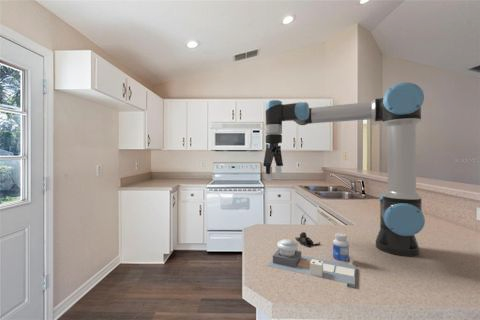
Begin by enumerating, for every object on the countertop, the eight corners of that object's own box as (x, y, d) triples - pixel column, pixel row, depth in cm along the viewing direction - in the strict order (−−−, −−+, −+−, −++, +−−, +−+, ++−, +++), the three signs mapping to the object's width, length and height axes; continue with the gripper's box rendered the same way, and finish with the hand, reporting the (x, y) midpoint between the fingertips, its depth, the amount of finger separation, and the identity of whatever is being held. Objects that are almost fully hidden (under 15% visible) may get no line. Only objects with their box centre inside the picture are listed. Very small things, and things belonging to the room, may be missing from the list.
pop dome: (299, 254, 86) (299, 240, 86) (294, 261, 80) (294, 246, 80) (280, 251, 89) (280, 237, 89) (274, 257, 83) (274, 242, 83)
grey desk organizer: (355, 268, 80) (355, 254, 80) (354, 288, 68) (354, 271, 68) (279, 254, 93) (279, 242, 93) (267, 268, 80) (267, 255, 80)
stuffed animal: (326, 245, 100) (307, 232, 96) (315, 266, 98) (296, 253, 94) (308, 236, 111) (291, 224, 107) (298, 255, 109) (280, 243, 105)
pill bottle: (330, 257, 89) (330, 232, 89) (343, 257, 90) (343, 231, 90) (337, 264, 84) (337, 236, 84) (351, 263, 84) (351, 236, 84)
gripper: (274, 137, 122) (274, 178, 121) (255, 132, 99) (255, 182, 99) (288, 136, 118) (289, 178, 118) (272, 131, 96) (272, 182, 96)
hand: (273, 180), depth 109 cm, fingers open, 13 cm apart
